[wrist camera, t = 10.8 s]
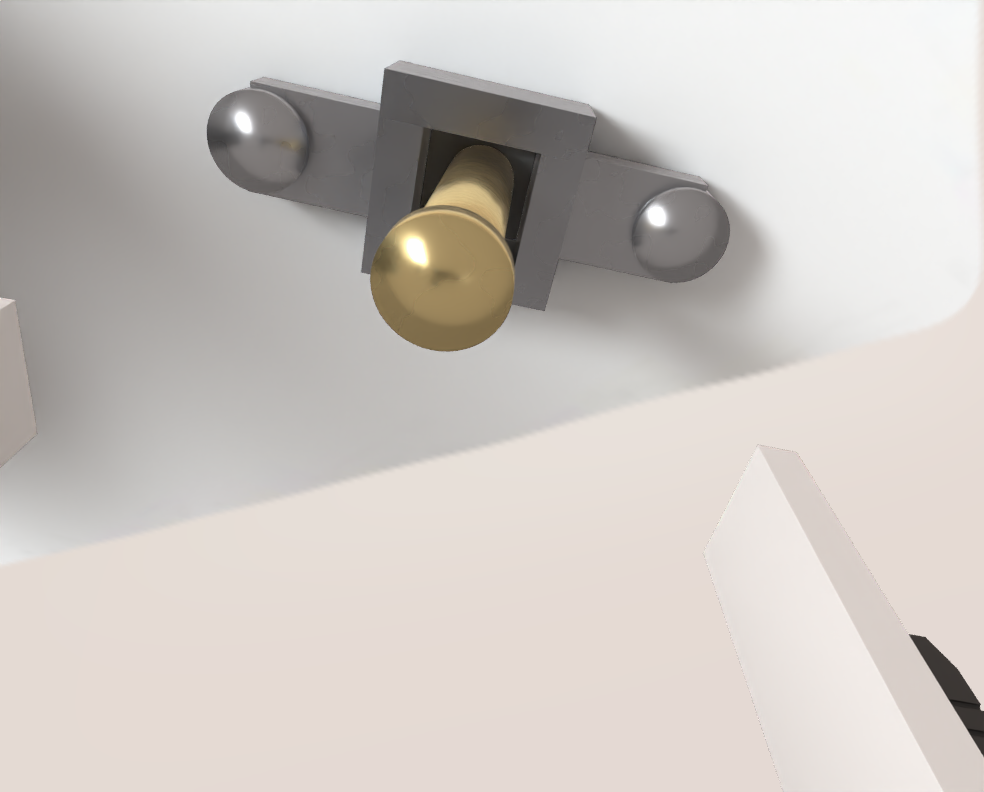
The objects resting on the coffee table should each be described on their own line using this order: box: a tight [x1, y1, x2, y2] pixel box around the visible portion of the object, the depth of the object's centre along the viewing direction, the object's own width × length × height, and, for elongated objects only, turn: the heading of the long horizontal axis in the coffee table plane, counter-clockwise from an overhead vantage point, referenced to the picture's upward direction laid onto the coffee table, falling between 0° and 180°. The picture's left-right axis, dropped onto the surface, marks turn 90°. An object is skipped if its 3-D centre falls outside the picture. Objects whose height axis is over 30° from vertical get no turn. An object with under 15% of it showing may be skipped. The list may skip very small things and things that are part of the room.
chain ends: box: [207, 61, 730, 311], centre depth 29 cm, size 22×8×4 cm, turn 78°
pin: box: [370, 145, 515, 351], centre depth 24 cm, size 4×4×13 cm
